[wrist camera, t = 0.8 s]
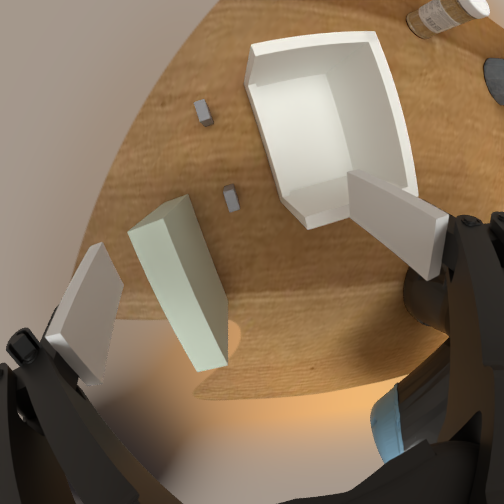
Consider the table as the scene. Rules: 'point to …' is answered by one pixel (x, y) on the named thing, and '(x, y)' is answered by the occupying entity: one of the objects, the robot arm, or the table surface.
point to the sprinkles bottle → (445, 15)
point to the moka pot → (495, 78)
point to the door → (185, 280)
